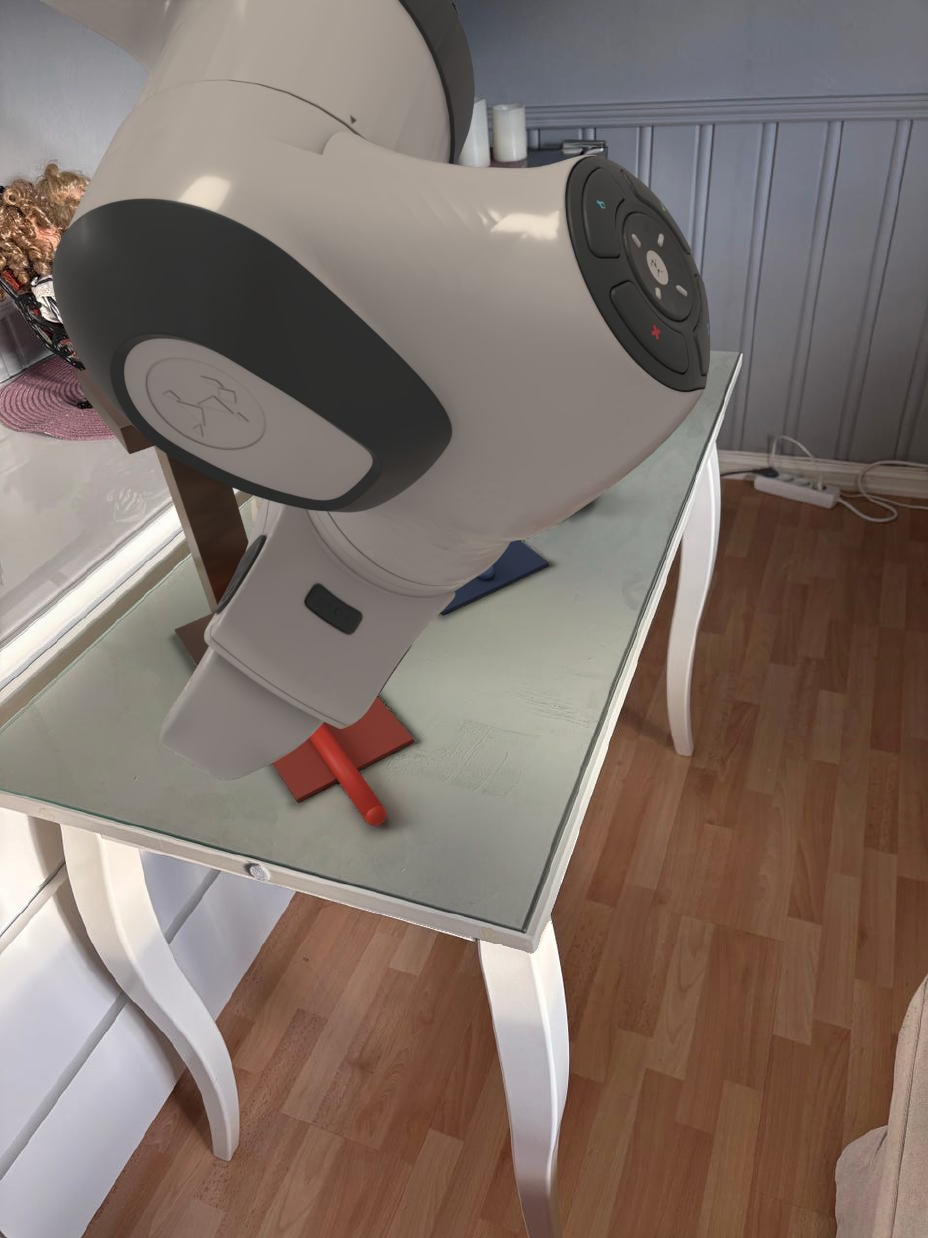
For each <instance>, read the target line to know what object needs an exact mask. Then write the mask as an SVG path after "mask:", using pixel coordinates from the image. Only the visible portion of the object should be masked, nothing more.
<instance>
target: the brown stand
mask: <svg viewBox="0 0 928 1238" xmlns="http://www.w3.org/2000/svg"><path fill="white" fill-rule="evenodd" d="M75 375H76V377H77V379H78V382H79V385H80V387H81V388H80V389H81V390H82V393H83V396H84V397H85V399H86V400H87V401H88V403H89V404H90V405H91V406H92V408H93V409H94V410H95V412H96V413H97V414H98V416H99V417H100V418H101V419H102V420H103V423H104V424H105V425H106V426H107V427H108V429H109V430H110V431H111V433H112V434H113V435H114V436H115V437H116V439H117V440H118V442H119V443H120V444H121V445H122V447H123V449H125V450H126V452H127V453H128V454H129V455H132V454H135V453H137V452H138V453H139V452H141V451H144V450H147V449H149V448H152V447H154V450H155V454H156V456H157V459H158V462H159V465H160V467H161V471H162V474H163V476H164V480H165V482H166V485H167V488H168V490H169V493H170V496H171V497H170V498H171V499H172V502H173V506H174V508H175V511H176V514H177V517H178V520H179V522H180V525H181V529H182V531H183V534H184V537H185V540H186V542H187V546H188V548H189V551H190V554H191V557H192V560H193V563H194V567H195V569H196V571H197V574H198V577H199V580H200V583H201V587H202V589H203V591H204V595H205V598H206V601H207V604H208V606H209V609H210V612H211V613H209V614H208V615H205V616H203V617H201V618H198V619H196V620H193V621H191V622H189V623H187V624H184V625H182V626H178V627H177V628H175V629H174V633H175V636H176V638H177V640H178V641H179V643H180V644H181V646H182V647H183V649H184V650H185V652H186V653H187V655H188V657H189V658H190V660H191V662H192V663H193V665H194V666H195V667H196V668H197V666H198V665H199V663H200V661H201V660H202V658H203V656H204V654H205V652H206V651H207V649H208V647H209V645H208V644H207V643H206V642H205V640H204V633H205V630H206V628H207V626H208V624H209V623H210V621H211V620H212V618H213V616H214V615H215V613H216V612H215V609H216V607H217V605H218V603H219V602H220V600H221V598H222V596H223V595H224V593H225V591H226V589H227V587H228V586H229V584H230V582H231V580H232V578H233V576H234V574H235V572H236V569H237V567H238V565H239V563H240V560H241V559H242V557H243V555H244V554H245V552H246V549H247V546H248V543H249V539H248V535H247V531H246V528H245V524H244V521H243V517H242V514H241V512H240V508H239V505H238V502H237V498H236V494H235V490H234V488H232V487H229V486H227V485H225V484H222V483H220V482H218V481H216V480H214V479H212V478H210V477H208V476H206V475H204V474H202V473H200V472H198V471H196V470H194V469H192V468H190V467H189V466H187V465H185V464H183V463H181V462H180V461H178V460H176V459H174V458H173V457H171V456H169V455H168V454H166V453H165V452H163V451H162V450H160V449H159V448H158V447H156V446H155V445H154V444H152V443H151V442H150V441H149V440H148V439H147V438H146V437H144V436H143V435H142V434H141V433H140V432H139V431H138V430H137V429H136V428H135V427H134V426H133V425H132V424H131V423H130V422H129V421H128V420H127V419H126V418H125V417H124V416H123V415H122V414H121V413H120V412H119V411H118V410H117V408H116V407H115V406H114V405H113V404H112V403H111V402H110V400H109V399H108V398H107V397H106V396H105V395H104V393H103V392H102V391H101V390H100V388H99V387H98V386H97V384H96V383H95V382H94V380H93V379H92V377H91V376H90V375H89V373H88V371H87V370H86V368H85V369H83V370H79V371H76V372H75ZM196 668H195V669H196Z"/></svg>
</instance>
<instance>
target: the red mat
mask: <svg viewBox="0 0 928 1238" xmlns="http://www.w3.org/2000/svg"><path fill="white" fill-rule="evenodd" d="M324 724H325V725H326V727H327V728H328V729H329V731H330V732H331V734H332V735H333V736H334V738H335V739H336V741H337V742H338V743H339V745H340V746H341V748H342V749H343V750H344V752H345V753H346V755H347V756H348V757H349V759H350V760H351V762H352V763H353V764H354V766H355V767H356V768H357V770H358V771H359V772H360V771H361V770H364V769H365V768H367V767H368V766H372V764H374V763H377V762H378V761H381V760H382V759H384V758H386V757H388V756H390V755H392V754H394V753H395V752H397V751H399V750H401V749H403V748H405V747H407V746H409V745H411V744H413V743H415V739H414V737H413V736H412V735H411V733H409V732H408V731H407V729H406V728H405V727H404V726H403V725H402V723H401V722H400V721H399V720H398V719H397V717H396V716H395V715H394V714H393V713H392V712H391V710H390V709H389V708H388V707H387V706H386V705H385V703H384V702H383V701H382V700H381V699H380V698H379V696H377V697H376V699H375V700H374V702H373V703H372V705H371V707H370V708H369V709H368V711H367V712H366V713H365V714H364V716H363V717H362V718H360V719H359V720H358V721H357V722H355V723H354V724H352V725H350V726H348V727H346V728H343V729H339V728H337V727H335V726H332V725H330V724H328V723H326V722H324ZM272 765H273V767H274V768H275V770H276V771H277V773H278V774H279V776H280V777H281V779H282V781H283V782H284V784H285V785H286V786H287V788H288V789H289V791H290V793H291V794H292V796H293V797H294V799H295V801H296V802H297V803H301V802H302V801H304V800H306V799H308V798H310V797H312V796H314V795H315V794H318V793H319V792H321V791H323V790H325V789H327V788H329V787H331V786H333V785H335V784H336V783H339V781H338V780H337V778H336V777H335V775H334V774H333V772H332V771H331V770H330V768H329V767H328V765H327V764H326V762H325V761H324V759H323V758H322V756H321V755H320V754H319V752H318V751H317V749H316V748H315V746H314V745H313V743H312V742H311V740H310V739H309V738H308V739H307V740H306V741H305V742H304V743H303V744H301V745H300V746H299V747H298V748H296V749H295V750H293V751H292V752H290V753H289V754H287V755H285V756H284V757H282V758H280V759H278V760H277V761H275V762H273V763H272Z"/></svg>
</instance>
